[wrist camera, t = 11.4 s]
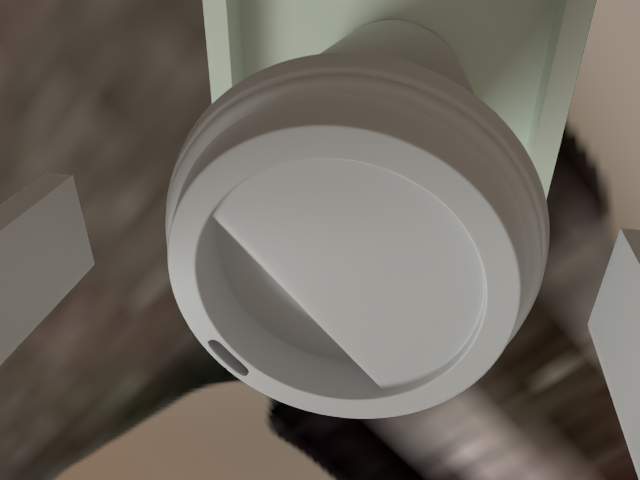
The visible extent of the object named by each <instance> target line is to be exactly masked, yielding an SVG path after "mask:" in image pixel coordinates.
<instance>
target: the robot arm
mask: <svg viewBox="0 0 640 480" xmlns="http://www.w3.org/2000/svg"><path fill="white" fill-rule="evenodd" d="M94 265H95V264H94V260H93V256H92V252H91V248H90V244H89V239H88V235H87V231H86V227H85V223H84V219H83V215H82V211H81V207H80V203H79V199H78V195H77V191H76V187H75V183H74V179H73V175H65V174H55V173H44V174H43V175H41V176H40V177H38V178H37V179H36V180H34V181H33V182H31V183H30V184H29V185H27V186H26V187H24V188H23V189H21V190H20V191H19V192H17V193H16V194H14V195H13V196H12V197H10V198H9V199H7V200H6V201H4V202H3V203H2V204H0V365H1V364H2V363H3V362H4V361H5V360H6V359H7V358H8V357H9V356H10V354H11V353H12V352H13V351H14V350H15V349H16V348H17V347H18V346H19V345H20V344H21V343H22V342H23V341H24V340H25V338H26V337H27V336H28V335H29V334H30V333H31V332H32V331H33V330H34V329H35V328H36V327H37V326H38V325H39V323H40V322H41V321H42V320H43V319H44V318H45V317H46V316H47V315H48V314H49V313H50V312H51V311H52V310H53V308H54V307H55V306H56V305H57V304H58V303H59V302H60V301H61V300H62V299H63V298H64V297H65V296H66V295H67V294H68V292H69V291H70V290H71V289H72V288H73V287H74V286H75V285H76V284H77V283H78V282H79V281H80V280H81V279H82V277H83V276H84V275H85V274H86V273H87V272H88V271H89V270H90V269H91V268H92V267H93V266H94ZM588 328H589V331H590V334H591V337H592V340H593V343H594V346H595V349H596V352H597V355H598V358H599V361H600V364H601V367H602V370H603V373H604V376H605V379H606V382H607V385H608V388H609V391H610V394H611V397H612V400H613V403H614V406H615V409H616V412H617V415H618V418H619V421H620V424H621V427H622V430H623V433H624V436H625V439H626V443H627V446H628V449H629V452H630V455H631V458H632V461H633V464H634V467H635V470H636V473H637V476H638V479H639V480H640V230H633V229H622V228H621V229H620V232H619V235H618V237H617V240H616V243H615V246H614V249H613V252H612V255H611V258H610V261H609V264H608V267H607V269H606V272H605V275H604V278H603V281H602V284H601V287H600V290H599V293H598V296H597V299H596V302H595V304H594V307H593V310H592V313H591V316H590V319H589V322H588Z"/></svg>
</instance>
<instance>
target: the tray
mask: <svg viewBox="0 0 640 480" xmlns="http://www.w3.org/2000/svg"><path fill="white" fill-rule="evenodd" d="M595 4H596V0H203V11H204V22H205V33H206V43H207V54H208V65H209V76H210V87H211V98H212V104H213V103H214V102H215V101H216V100H217V99H218V98H219V97H220V96H221V95H222V94H224V93H225V92H226V91H227V90H229V89H230V88H231V87H233V86H234V85H236V84H237V83H239V82H240V81H242V80H244V79H245V78H247V77H249V76H250V75H252V74H254V73H256V72H258V71H261V70H263V69H265V68H267V67H270V66H272V65H275V64H278V63H281V62H284V61H287V60H291V59H295V58H299V57H304V56H309V55H316V54H320V53H322V52H323V51H325V50H326V49H328V48H329V47H331V46H332V45H334V44H335V43H337V42H338V41H340V40H341V39H342V38H344V37H345V36H347V35H348V34H350V33H351V32H353V31H355V30H356V29H358V28H360V27H362V26H364V25H367V24H370V23H373V22H377V21H382V20H404V21H409V22H413V23H417V24H419V25H422V26H424V27H426V28H428V29H430V30H432V31H433V32H435V33H436V34H437V35H439V36H440V37H441V38H442V39H443V40H444V41H445V42H446V43H447V44H448V45H449V46H450V47H451V49H452V50H453V52H454V53H455V55H456V56H457V58H458V60H459V62H460V64H461V66H462V68H463V70H464V73H465V75H466V77H467V79H468V81H469V83H470V85H471V87H472V90H473V92H474V94H475V96H477V97H478V98H479V99H481V100H482V101H483V102H484V103H486V104H487V105H488V106H489V107H490V108H491V109H492V110H494V111H495V112H496V113H497V114H498V115H499V116H500V117H501V118H502V119H503V121H504V122H505V123H506V124H507V125H508V126H509V127H510V129H511V130H512V131H513V132H514V134H515V135H516V136H517V137H518V139H519V140H520V142H521V143H522V145H523V146H524V148H525V149H526V151H527V153H528V155H529V156H530V158H531V160H532V162H533V164H534V166H535V168H536V171H537V173H538V175H539V178H540V181H541V183H542V187H543V190H544V193H545V197H546V200H547V196H548V192H549V188H550V184H551V180H552V176H553V172H554V168H555V164H556V160H557V156H558V152H559V148H560V144H561V140H562V136H563V132H564V128H565V124H566V120H567V116H568V112H569V108H570V104H571V100H572V96H573V92H574V88H575V84H576V80H577V76H578V72H579V68H580V64H581V60H582V56H583V52H584V48H585V44H586V40H587V35H588V32H589V28H590V23H591V20H592V16H593V12H594V8H595Z"/></svg>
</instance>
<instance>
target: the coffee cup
mask: <svg viewBox="0 0 640 480" xmlns="http://www.w3.org/2000/svg"><path fill="white" fill-rule="evenodd" d="M549 237H550V227H549V214H548V207H547V202H546V197H545V193H544V190H543V187H542V183H541V181H540V178H539V175H538V173H537V171H536V168H535V166H534V164H533V162H532V160H531V158H530V156H529V155H528V153H527V151H526V149H525V148H524V146H523V145H522V143H521V142H520V140H519V139H518V137H517V136H516V135H515V134H514V132H513V131H512V130H511V129H510V127H509V126H508V125H507V124H506V123H505V122H504V121H503V119H502V118H501V117H500V116H499V115H498V114H497V113H496V112H495V111H494V110H492V109H491V108H490V107H489V106H488V105H487V104H486V103H484V102H483V101H482V100H481V99H479V98H478V97H477V96H475V94H474V92H473V90H472V87H471V85H470V83H469V81H468V79H467V77H466V75H465V73H464V70H463V68H462V66H461V64H460V62H459V60H458V58H457V56H456V55H455V53H454V52H453V50H452V49H451V47H450V46H449V45H448V44H447V43H446V42H445V41H444V40H443V39H442V38H441V37H440V36H439V35H437V34H436V33H435V32H433V31H432V30H430V29H428V28H426V27H424V26H422V25H419V24H417V23H413V22H409V21H404V20H382V21H377V22H373V23H370V24H367V25H364V26H362V27H360V28H358V29H356V30H355V31H353V32H351V33H350V34H348V35H347V36H345V37H344V38H342V39H341V40H340V41H338V42H337V43H335V44H334V45H332V46H331V47H329V48H328V49H326V50H325V51H323V52H322V53H320V54H316V55H309V56H304V57H299V58H295V59H291V60H287V61H284V62H281V63H278V64H275V65H272V66H270V67H267V68H265V69H263V70H261V71H258V72H256V73H254V74H252V75H250V76H249V77H247V78H245V79H244V80H242V81H240V82H239V83H237V84H236V85H234V86H233V87H231V88H230V89H229V90H227V91H226V92H225V93H224V94H222V95H221V96H220V97H219V98H218V99H217V100H216V101H215V102H214V103H213V104H212V105H211V106H210V107H209V108H208V109H207V110H206V111H205V112H204V113H203V115H202V116H201V117H200V118H199V120H198V121H197V122H196V124H195V125H194V127H193V128H192V130H191V131H190V133H189V135H188V136H187V138H186V140H185V142H184V144H183V146H182V148H181V151H180V153H179V156H178V158H177V161H176V164H175V167H174V170H173V173H172V177H171V180H170V185H169V189H168V195H167V204H166V240H167V248H168V250H167V257H168V270H169V277H170V282H171V286H172V289H173V293H174V296H175V299H176V301H177V304H178V306H179V309H180V311H181V313H182V315H183V317H184V319H185V320H186V322H187V324H188V326H189V327H190V329H191V330H192V332H193V333H194V335H195V336H196V337H197V339H198V340H199V341H200V343H201V344H202V345H203V346H204V347H205V349H206V350H207V351H208V352H209V353H210V354H211V355H212V356H213V357H214V358H215V359H216V360H217V361H218V362H219V363H220V364H221V365H222V366H224V367H225V368H226V369H227V370H228V371H229V372H231V373H232V374H233V375H235V376H236V377H237V378H239V379H240V380H242V381H243V382H245V383H246V384H248V385H249V386H251V387H253V388H254V389H256V390H258V391H260V392H262V393H263V394H265V395H267V396H269V397H271V398H273V399H276V400H278V401H280V402H283V403H285V404H288V405H291V406H293V407H296V408H299V409H303V410H306V411H310V412H314V413H318V414H323V415H328V416H335V417H343V418H359V419H371V418H386V417H394V416H400V415H405V414H410V413H414V412H418V411H421V410H424V409H427V408H430V407H433V406H435V405H438V404H440V403H442V402H445V401H447V400H449V399H451V398H452V397H454V396H456V395H458V394H459V393H461V392H463V391H464V390H466V389H467V388H468V387H470V386H471V385H472V384H474V383H475V382H476V381H477V380H478V379H480V378H481V377H482V376H483V375H484V374H485V373H486V372H487V371H488V370H489V369H490V368H491V366H492V365H493V364H494V363H495V362H496V360H497V359H498V358H499V356H500V355H501V353H502V352H503V350H504V349H505V347H506V345H507V344H508V343H509V342H510V341H511V339H512V338H513V337H514V336H515V334H516V333H517V331H518V330H519V329H520V327H521V325H522V324H523V322H524V320H525V319H526V317H527V315H528V313H529V311H530V310H531V308H532V306H533V304H534V302H535V299H536V297H537V294H538V292H539V289H540V286H541V282H542V279H543V275H544V270H545V266H546V262H547V256H548V250H549Z"/></svg>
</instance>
